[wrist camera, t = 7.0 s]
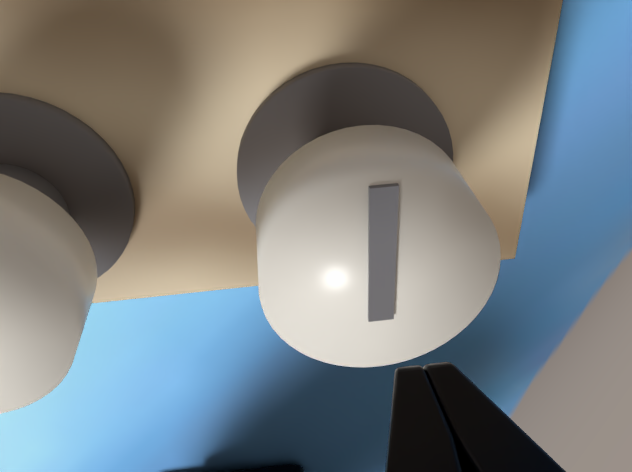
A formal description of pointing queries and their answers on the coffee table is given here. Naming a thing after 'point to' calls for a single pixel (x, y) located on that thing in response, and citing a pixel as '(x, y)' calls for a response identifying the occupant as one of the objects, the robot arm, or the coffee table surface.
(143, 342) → the coffee table surface
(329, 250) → the knob
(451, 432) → the robot arm
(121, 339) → the coffee table surface
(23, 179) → the knob
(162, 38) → the panel
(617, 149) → the coffee table surface
